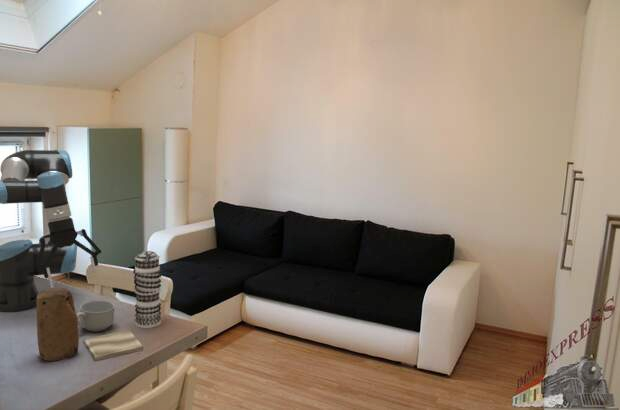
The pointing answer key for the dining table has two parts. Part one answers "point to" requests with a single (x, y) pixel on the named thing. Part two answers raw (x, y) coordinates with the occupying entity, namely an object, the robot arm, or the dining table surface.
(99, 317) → the teacup
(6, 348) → the dining table surface
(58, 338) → the block
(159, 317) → the decorative candle
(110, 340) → the beige packet
